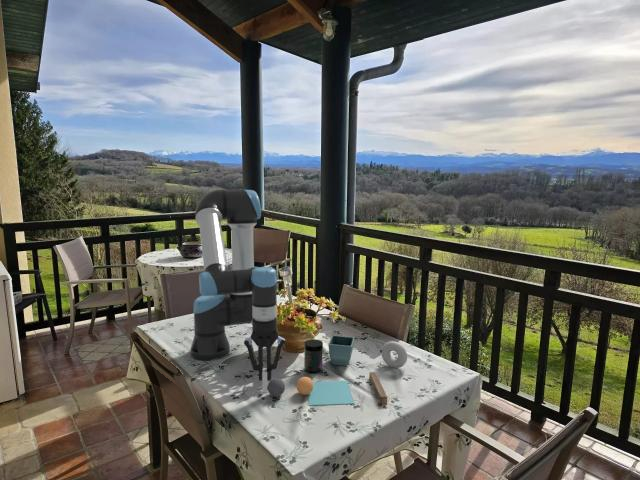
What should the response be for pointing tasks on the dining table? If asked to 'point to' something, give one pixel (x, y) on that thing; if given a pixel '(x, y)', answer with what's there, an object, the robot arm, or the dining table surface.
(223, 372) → the dining table surface
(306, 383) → the object ball
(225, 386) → the dining table surface
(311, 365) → the supplement container
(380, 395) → the strip
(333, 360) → the flower pot
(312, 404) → the teal mark
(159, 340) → the dining table surface
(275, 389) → the dark grey ball
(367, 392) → the dining table surface
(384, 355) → the donut
